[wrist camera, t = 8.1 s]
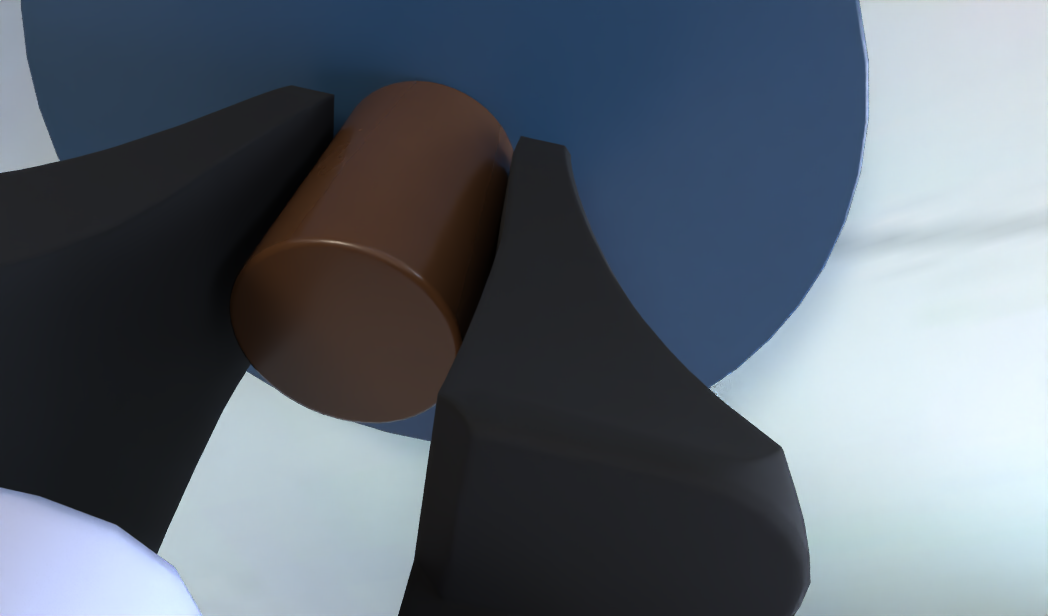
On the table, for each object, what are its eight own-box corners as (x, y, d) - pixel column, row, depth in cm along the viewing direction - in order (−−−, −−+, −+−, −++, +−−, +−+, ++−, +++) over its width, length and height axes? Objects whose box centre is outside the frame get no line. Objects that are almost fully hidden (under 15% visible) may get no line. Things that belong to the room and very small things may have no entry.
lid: (890, -502, 8) (1102, -657, 4) (836, 396, 15) (894, 661, 11) (-106, -247, 11) (-569, -190, 7) (245, 415, 18) (121, 633, 14)
